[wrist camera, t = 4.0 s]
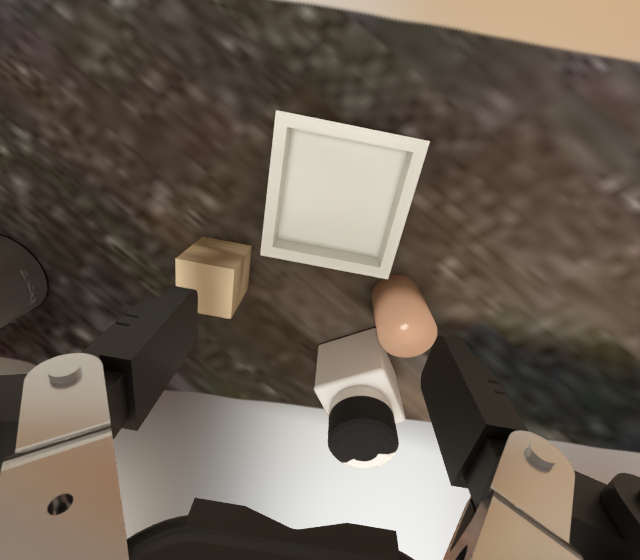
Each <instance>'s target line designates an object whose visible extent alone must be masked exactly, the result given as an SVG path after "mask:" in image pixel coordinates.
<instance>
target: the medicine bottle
mask: <svg viewBox="0 0 640 560" xmlns="http://www.w3.org/2000/svg"><path fill="white" fill-rule="evenodd" d="M314 391H315V393H316V394H317V396H318V398H319V400H320V402H321V404H322V405H323V407H324V409H325V411H326V413H327V414H328V416H329V430H328V447H329V449H330V451H331V453H332V454H333V455H334V456H335V457H336V458H337V459H338V460H339V461H341V462H342V463H344V464H346V465H348V466H351V467H355V468H372V467H377V466H380V465H382V464H384V463H386V462H387V461H389V460H390V459H391V458H392V457H393V455H394V454H395V453H396V451H397V448H398V443H399V442H398V436H397V430H396V425H395V424H396V423H400V422H403V421H404V420H405V415H404V411H403V406H402V402H401V397H400V393H399V388H398V383H397V379H396V374H395V371H394V369H393V366H392V364H391V362H390V359H389V357H388V354H387V352H386V351H385V350H384V349H383V348H382V346H381V345H380V342H379V339H378V334H377V329H376V328H373V329H369V330H366V331H363V332H360V333H356V334H353V335H350V336H347V337H343V338H340V339H337V340H334V341H330V342H327V343H324V344H321V345H319V346H318V352H317V362H316V372H315V382H314Z"/></svg>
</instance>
